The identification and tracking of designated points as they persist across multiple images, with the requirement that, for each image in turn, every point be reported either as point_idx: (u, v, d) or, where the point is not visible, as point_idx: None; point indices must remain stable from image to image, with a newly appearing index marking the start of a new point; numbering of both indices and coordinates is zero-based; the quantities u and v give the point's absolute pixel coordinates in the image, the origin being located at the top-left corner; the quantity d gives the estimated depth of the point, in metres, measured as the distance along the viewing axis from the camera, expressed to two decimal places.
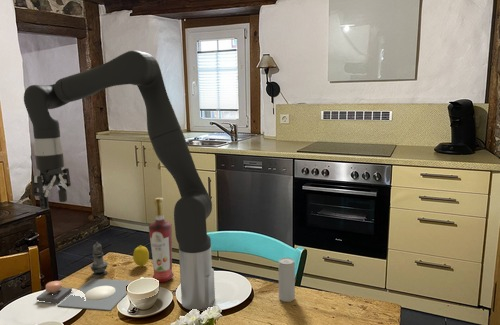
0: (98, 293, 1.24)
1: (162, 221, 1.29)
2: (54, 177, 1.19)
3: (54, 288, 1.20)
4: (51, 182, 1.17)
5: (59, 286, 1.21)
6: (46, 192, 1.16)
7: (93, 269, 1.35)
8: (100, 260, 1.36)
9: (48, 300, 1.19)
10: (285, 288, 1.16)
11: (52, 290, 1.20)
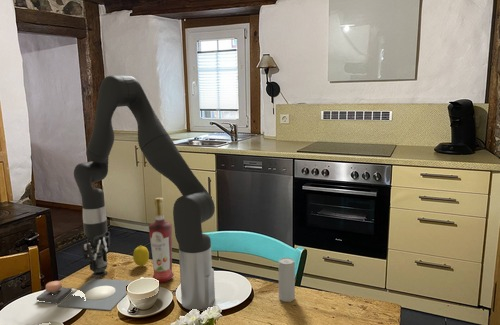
0: (98, 293, 1.24)
1: (162, 221, 1.29)
2: (100, 241, 1.35)
3: (54, 288, 1.20)
4: (97, 246, 1.34)
5: (59, 286, 1.21)
6: (95, 256, 1.33)
7: None
8: (100, 260, 1.36)
9: (48, 300, 1.19)
10: (285, 288, 1.16)
11: (52, 290, 1.20)
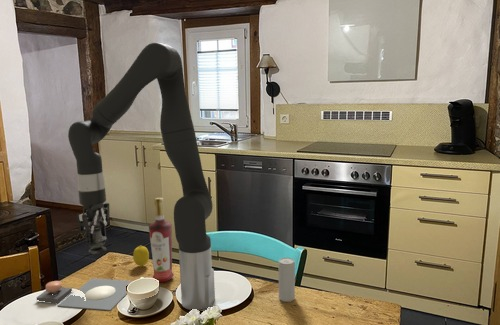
0: (98, 293, 1.24)
1: (162, 221, 1.29)
2: (97, 212, 1.19)
3: (54, 288, 1.20)
4: (95, 218, 1.18)
5: (59, 286, 1.21)
6: (92, 228, 1.17)
7: None
8: (98, 234, 1.20)
9: (48, 300, 1.19)
10: (285, 288, 1.16)
11: (52, 290, 1.20)
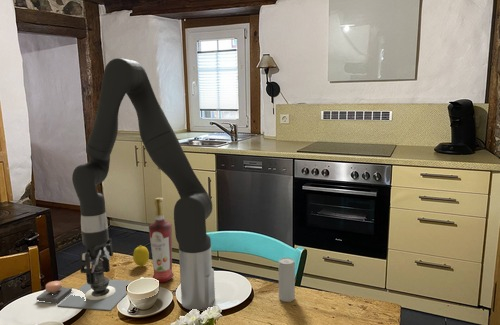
0: None
1: (162, 221, 1.29)
2: (100, 251, 1.20)
3: (54, 288, 1.20)
4: (97, 257, 1.19)
5: (59, 286, 1.21)
6: (93, 268, 1.18)
7: (93, 287, 1.21)
8: (101, 277, 1.22)
9: (48, 300, 1.19)
10: (285, 288, 1.16)
11: (52, 290, 1.20)
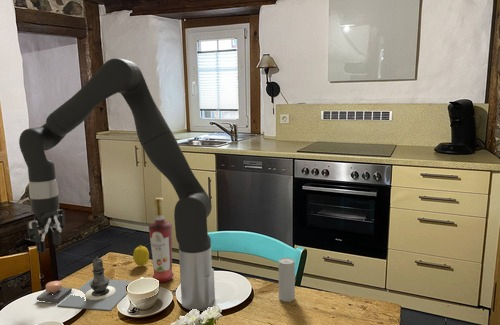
0: None
1: (162, 221, 1.29)
2: (49, 219, 1.17)
3: (54, 288, 1.20)
4: (46, 225, 1.16)
5: (59, 286, 1.21)
6: (42, 236, 1.15)
7: (93, 287, 1.21)
8: (101, 277, 1.22)
9: (48, 300, 1.19)
10: (285, 288, 1.16)
11: (52, 290, 1.20)
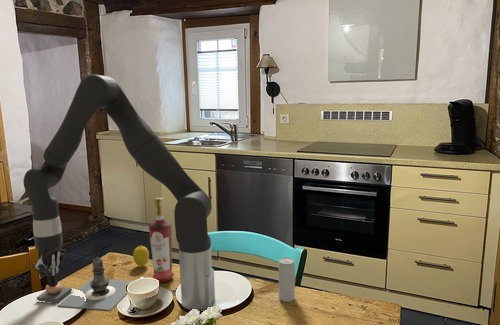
0: None
1: (162, 221, 1.29)
2: (53, 256, 1.19)
3: (54, 290, 1.20)
4: (52, 262, 1.19)
5: (59, 288, 1.21)
6: (52, 271, 1.20)
7: (93, 287, 1.21)
8: (101, 277, 1.22)
9: (48, 300, 1.19)
10: (285, 288, 1.16)
11: (52, 292, 1.20)
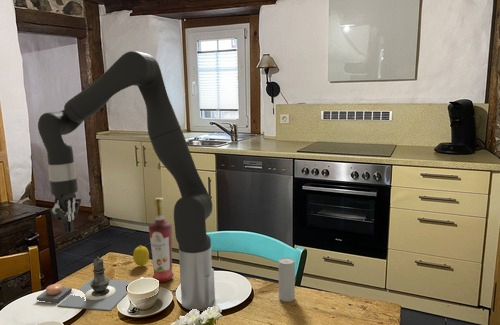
0: None
1: (162, 221, 1.29)
2: (69, 201, 1.20)
3: (55, 292, 1.20)
4: (68, 207, 1.21)
5: (59, 289, 1.22)
6: (68, 217, 1.21)
7: (93, 287, 1.21)
8: (101, 277, 1.22)
9: (48, 300, 1.19)
10: (285, 288, 1.16)
11: (52, 293, 1.20)
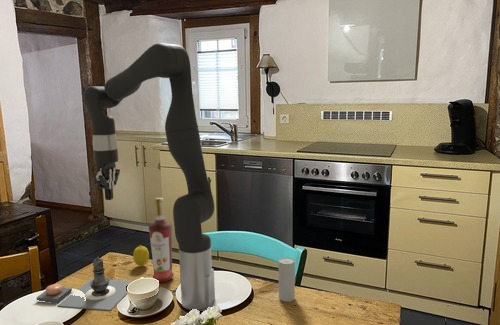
0: None
1: (162, 221, 1.29)
2: (110, 170, 1.30)
3: (55, 292, 1.20)
4: (110, 176, 1.30)
5: (59, 289, 1.22)
6: (109, 185, 1.31)
7: (93, 287, 1.21)
8: (101, 277, 1.22)
9: (48, 300, 1.19)
10: (285, 288, 1.16)
11: (52, 293, 1.20)
